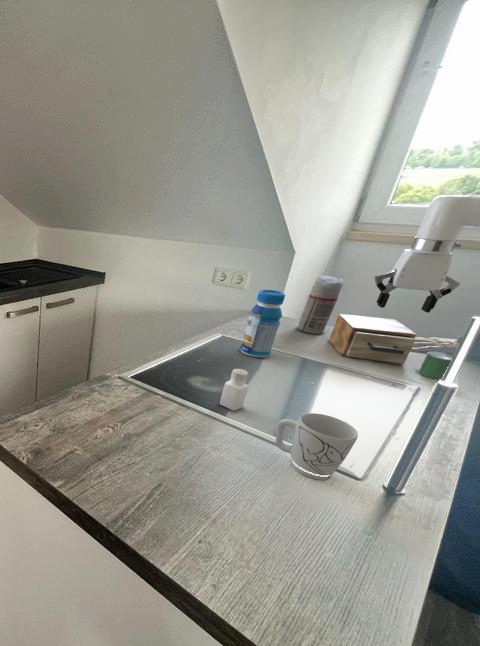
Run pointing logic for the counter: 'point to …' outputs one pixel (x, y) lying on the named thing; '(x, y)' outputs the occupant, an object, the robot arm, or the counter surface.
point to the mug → (317, 443)
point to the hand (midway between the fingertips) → (402, 308)
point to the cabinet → (351, 323)
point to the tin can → (435, 364)
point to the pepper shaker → (235, 390)
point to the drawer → (380, 346)
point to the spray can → (320, 304)
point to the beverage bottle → (263, 324)
